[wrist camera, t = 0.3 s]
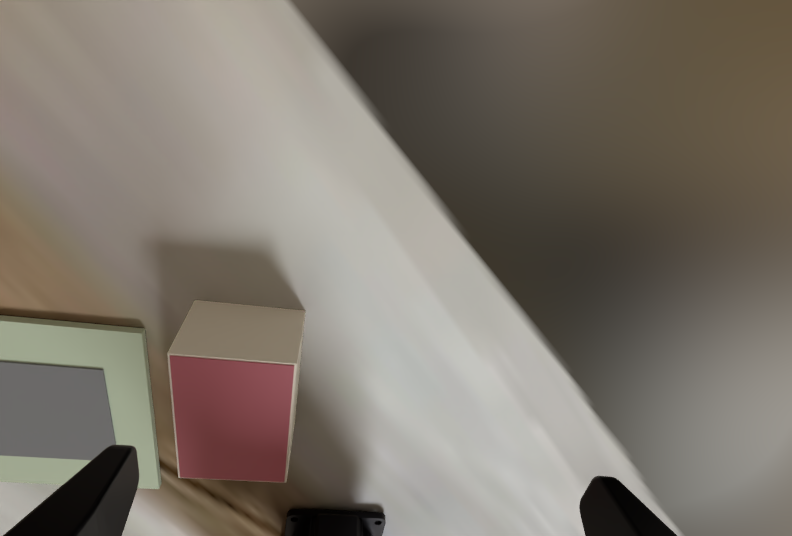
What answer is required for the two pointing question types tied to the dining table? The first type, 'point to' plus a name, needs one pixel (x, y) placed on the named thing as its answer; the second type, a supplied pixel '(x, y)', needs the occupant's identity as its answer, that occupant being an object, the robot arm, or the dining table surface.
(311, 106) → the dining table surface
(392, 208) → the dining table surface
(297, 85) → the dining table surface
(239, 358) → the card box
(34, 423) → the mat
